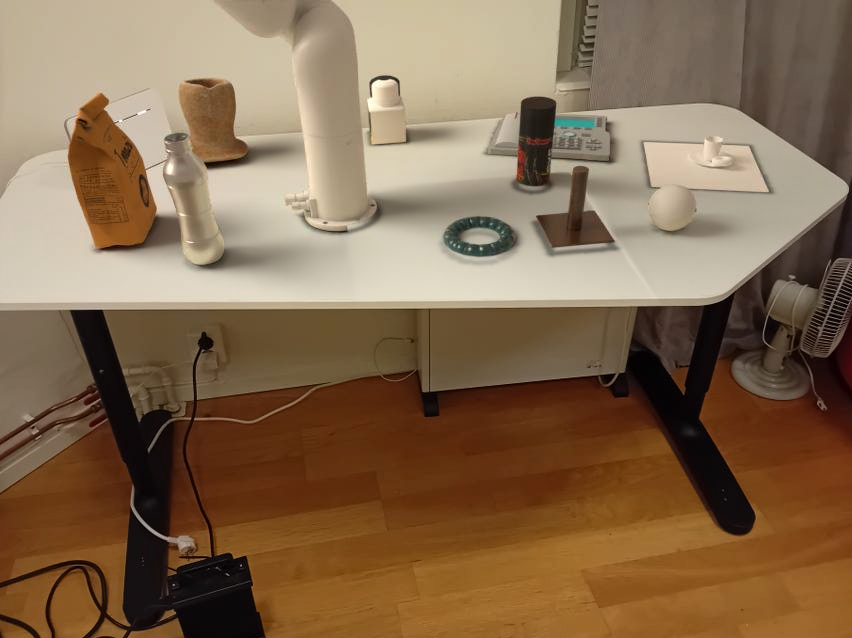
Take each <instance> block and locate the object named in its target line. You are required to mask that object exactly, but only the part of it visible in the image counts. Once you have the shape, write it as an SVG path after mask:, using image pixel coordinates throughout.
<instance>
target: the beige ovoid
mask: <svg viewBox="0 0 852 638" xmlns="http://www.w3.org/2000/svg"><path fill="white" fill-rule="evenodd" d="M655 190H656V191H655V192H654V193H652V195H651V198H650V200H649V202H648V203H647V212H648V216H649V218H650V220H651V222H652V223H653V224H654V226H656V227H657V228H658V229H660V230H663V231H672V232H673V231H678V230H681V229H682V228H685V227H686V226H687V225H689V223H690V222H692V221H693V219H694V216H695V214H696V213H697V202H696V198H695V195H694V194H693V193H692V191H691V189H688V188H686V187H684V186H681V185H677V184H671V185H666V186H663V187H659V188H658V189H657V188H655Z"/></svg>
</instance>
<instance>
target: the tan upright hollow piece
mask: <svg viewBox="0 0 852 638" xmlns="http://www.w3.org/2000/svg"><path fill="white" fill-rule="evenodd" d="M235 92H236V91H235V88H234V86H233V84H232V82H231V81H229V80H227V79H225V78H218V77H201V78H200V77H199V78H190V79H185V80H182V81H181V82H180V84H179V87H178V101H179V105H180V108H181V112H182V114H183V116H184V119H185V121H186V124H187V126H188V130H189V137H190V141H191V143H192V147H193V149H192V152H193V153H195V154H196V155H197V156H198V157H199V158H200V159H201V160H202V161H203V162H204V164H205V163H214V162H215V163H216V162H223V161H230V160H231V161H232V160H236V159H241V158H243V157H245V156H246V155H247V153H248V151H249V146H248V144H247V143H246V141H244V140H242V139H239V138H237V137H236V136H235V135H236V134H235V129H234V127H235V119H236V113H237V99H236V93H235ZM168 155H169V154H168V153H167V155H166V158H167V157H168Z"/></svg>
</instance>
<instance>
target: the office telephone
mask: <svg viewBox="0 0 852 638" xmlns="http://www.w3.org/2000/svg"><path fill="white" fill-rule="evenodd" d="M607 122H608V116H606V115H597V114H595V115H594V114H576V113H575V114H574V113H556V114H555V125H554V136H553V147H552V158H557V159H574V160H587V161H589V160H590V161H607V162H609V160H610V155H611V133H610V132H608V131H606V124H607ZM519 127H520V112H518V111H516V112H510V113H507V114H506V115H503V116H502V118H501V119H500V122H499V124H498V126H497V128H496V130H495V132H494V134H493V137H492V139H491V141H490V143H489V145H488V148H487V153H488V154H489V155H501V156H502V155H503V156H517V157H518V144H519Z"/></svg>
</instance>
